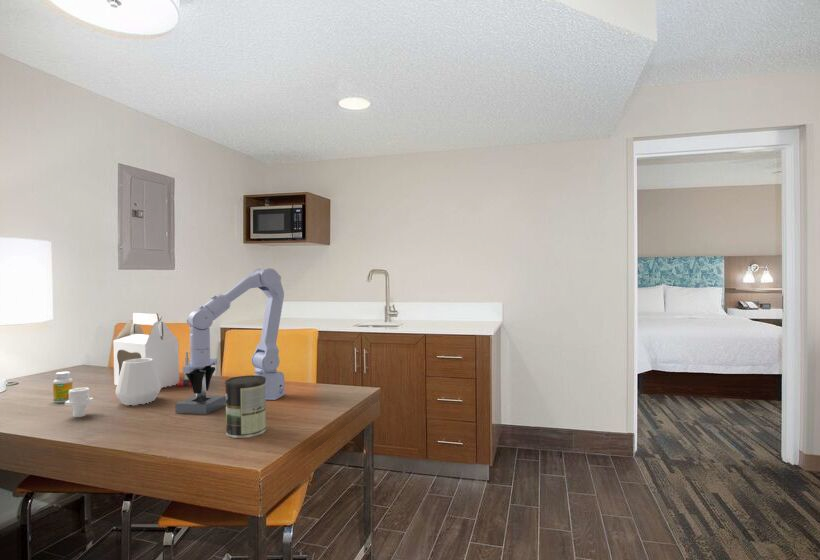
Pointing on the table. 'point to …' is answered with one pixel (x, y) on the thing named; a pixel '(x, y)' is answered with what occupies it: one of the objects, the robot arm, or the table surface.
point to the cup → (138, 382)
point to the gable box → (148, 347)
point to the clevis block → (200, 405)
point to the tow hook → (186, 381)
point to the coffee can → (245, 406)
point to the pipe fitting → (79, 401)
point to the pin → (202, 395)
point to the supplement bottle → (62, 387)
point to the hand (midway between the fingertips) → (201, 391)
